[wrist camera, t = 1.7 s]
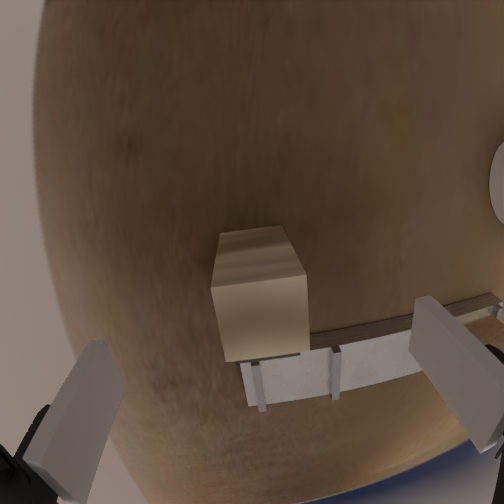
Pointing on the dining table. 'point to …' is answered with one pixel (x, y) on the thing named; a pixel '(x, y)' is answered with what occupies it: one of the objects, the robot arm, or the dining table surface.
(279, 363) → the rail
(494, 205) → the cup
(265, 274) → the block
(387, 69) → the dining table surface
